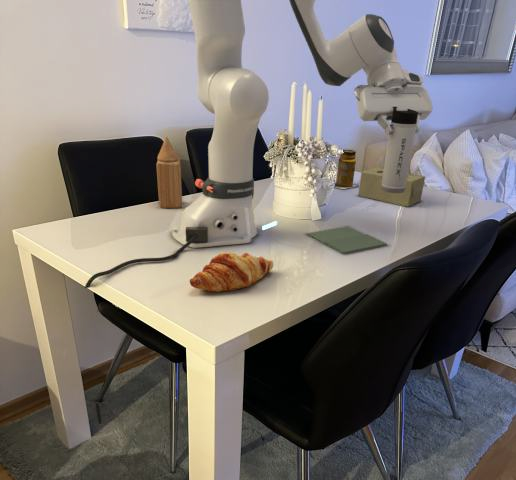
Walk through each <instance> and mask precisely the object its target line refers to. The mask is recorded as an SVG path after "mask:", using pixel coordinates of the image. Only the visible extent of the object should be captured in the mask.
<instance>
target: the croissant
mask: <svg viewBox="0 0 516 480" xmlns="http://www.w3.org/2000/svg"><path fill="white" fill-rule="evenodd" d="M273 267H274V261H273V260H271V259H270V260H268V259H267V258H265V257H264V256H259V257H257V256H254V255H252V254H250V253H248V252H244V253H243V254H241V255H238V254H237V253H235V252H223V253H219V254H217V255H215V256H213V257H212V258H211V260H210V261H209V263H208V264H206V265H205V266H204V267H203V268H202V270H201V271H199V272H197V273H196V274H195V275H194V276H193V278H190V279H189V284H190V286H191V287H193V288H194V289H198V290H206V291H209V292H216V293H220V292H224V291H235V290H238V289H242V288H247V287H249V286H251V285H253V284H254V283H256V282H257V281H258V280H260V279H262V278H263V277H264V276H265V275H266V274H268V273H270V272H271V271H272V269H273Z"/></svg>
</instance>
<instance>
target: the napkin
mask: <svg viewBox="0 0 516 480" xmlns="http://www.w3.org/2000/svg"><path fill="white" fill-rule="evenodd" d="M306 235H307V236H309V237H311V238H313V239H315V240H316V241H318V242H321V243H322V244H324V245H326V246H328V247H330V248H332V249H333V250H335V251H336V252H337V251H338V252H339V253H341V254H343V255H347V254H352V253H353V254H354V253H357V252H362V251H367V250H372V249H376V248H383V247H387V246H388V243H387V242H385V241H383V240H380V239H378V238H376V237H374V236H372V235H369V234H368V233H363V232H361V231H359V230H357V229H354V228H352V227H350V226H341V227H336V228H330V229H325V230H318V231H314V232H313V231H312V232H307V233H306Z"/></svg>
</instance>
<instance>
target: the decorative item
mask: <svg viewBox="0 0 516 480" xmlns="http://www.w3.org/2000/svg"><path fill="white" fill-rule="evenodd" d="M156 159H157V162H156V177H157V191H158V192H157V193H158V205H159V207H160V208H161V209H180V208H182V205H183V189H182V169H181V168H182V167H181V159H180V158H179V156H178V155H177V153H176V151H175V149H174V147H173V145H172V143H171V141H170V139H169V138H168V136H165V139H164V141H163V143H162V145H161V148H160V150H159V152H158V154H157V158H156Z"/></svg>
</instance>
